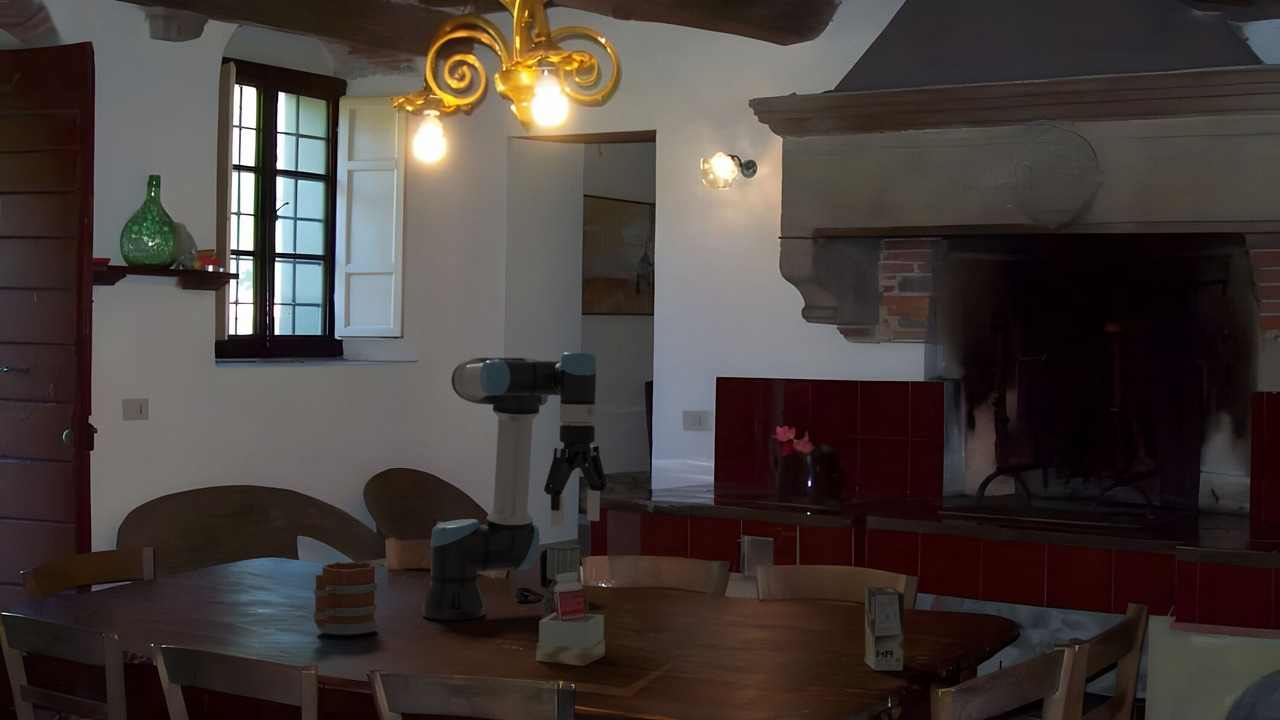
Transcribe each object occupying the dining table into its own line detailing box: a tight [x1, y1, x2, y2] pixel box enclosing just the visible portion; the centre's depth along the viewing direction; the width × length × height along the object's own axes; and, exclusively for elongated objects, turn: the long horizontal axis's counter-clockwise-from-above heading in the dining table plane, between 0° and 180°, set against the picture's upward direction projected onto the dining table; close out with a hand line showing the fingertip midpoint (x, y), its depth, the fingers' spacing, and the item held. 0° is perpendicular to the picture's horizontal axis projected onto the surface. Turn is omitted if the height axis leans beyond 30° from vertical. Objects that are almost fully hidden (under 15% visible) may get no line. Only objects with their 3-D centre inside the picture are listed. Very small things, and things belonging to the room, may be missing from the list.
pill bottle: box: [554, 572, 586, 623], centre depth 286 cm, size 6×6×11 cm
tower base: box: [535, 638, 606, 667], centre depth 285 cm, size 11×11×4 cm
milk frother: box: [514, 542, 582, 604], centre depth 353 cm, size 14×16×15 cm
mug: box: [313, 561, 379, 636], centre depth 310 cm, size 14×19×15 cm
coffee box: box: [864, 586, 905, 672], centre depth 282 cm, size 9×6×16 cm
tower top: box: [538, 612, 605, 648], centre depth 285 cm, size 11×11×5 cm
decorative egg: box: [541, 579, 590, 620], centre depth 304 cm, size 11×11×15 cm
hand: (575, 523), depth 286 cm, fingers open, 13 cm apart
